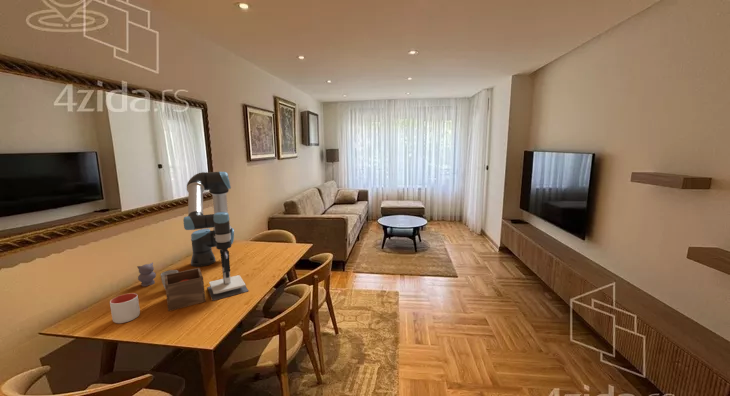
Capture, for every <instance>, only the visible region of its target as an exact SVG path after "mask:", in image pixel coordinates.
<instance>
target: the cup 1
mask: <svg viewBox="0 0 730 396" xmlns="http://www.w3.org/2000/svg"><path fill="white" fill-rule="evenodd" d="M138 296H139V295H138V294H137V293H135V292H134V293H132V292H131V293H124V294H120V295H118V296H115V297H113V298H112V299H110V300H109V305H110V312H111V319H112V322H113V323H115V324H124V323H128V322H131V321H133V320H135V319H136V318H138V317H139V316H140V314H141V309H140V301H139V297H138Z"/></svg>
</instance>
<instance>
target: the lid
mask: <svg viewBox="0 0 730 396" xmlns="http://www.w3.org/2000/svg"><path fill="white" fill-rule="evenodd" d="M221 268H222V267H221ZM223 271H224V267H223V268H222V278H220V279H216V280H211V281H209V287H210V286H211V289H212V291H213V294H218V293H222V292H226V291H230V290H234V289H238V288H242V287H243V286H246V287H247V285H246V283H245V281H244V280H243V278H242V277H241V275H240V274H238V275H233V276H230V281H231V282H230V283H226V284H225V277H224V273H223Z"/></svg>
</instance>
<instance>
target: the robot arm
mask: <svg viewBox="0 0 730 396" xmlns="http://www.w3.org/2000/svg"><path fill="white" fill-rule="evenodd" d="M231 188H232V187H231V182H230V179H229V173H228V172H226V171H209V172H204V171H203V172H199V173H196V174H194V175H193V176H191V178H190V179H188V182H187V184H186V191H187V193H188V196H187V197H188V199H187V200H188V204H187V205H188V206H187V207H188V209H187V215H186V216H184V217H183V219H182V220H183V222H182V223H183V229H184V230H186V231H193V232H192V233H191V235H190V240H191V249H192V255H191V256H192V257H191V259H190V266H191V267H194V268H196V267H197V268H200V267H206V266H210V265H212V264H214V263H215V262H216V261H217V260H216V257H215V254H214V252H213V249H212V248H216V249H217V250H219V254H220V261H221V268H223V267H224V271H222V274H223V273H224V277H225V284H226V283H230V282H231V281H230V277H231V264H230V263H231V262H230V251H229V250H228V249H231V248H232V245H233V243H234V240H235V229H234V227H232V226H231V224H230V223H231V222H230V214H229V210H228V209H229V206H228V195H227V194H228V193H229V191H230V189H231ZM205 191H209V194H211V195H212V204H213V213H211V214H210V213H209V214H204V195H203V194H204V192H205ZM210 228H211V229H212V228H213V229H212V230H211V229H210ZM194 230H195V231H194Z"/></svg>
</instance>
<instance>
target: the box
mask: <svg viewBox="0 0 730 396" xmlns="http://www.w3.org/2000/svg"><path fill="white" fill-rule="evenodd" d="M186 279H187V280H186ZM182 280H186V281H182ZM180 281H182V282H180ZM165 288H166V290H165V294H166V295H165V297H166V304H167V311H168V312H171V311H174V310H179V309H182V308H187V307H190V306H193V305H198V304H201V303H204V302H206V294H205V291H206V290H205V283H204V277H203V274H202V271H201V268H200V267H197V268H196V267H195V268H192V269H187V270H183V271H178V272H177V273H172V274H167V275H165ZM165 288H164V289H165Z"/></svg>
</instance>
